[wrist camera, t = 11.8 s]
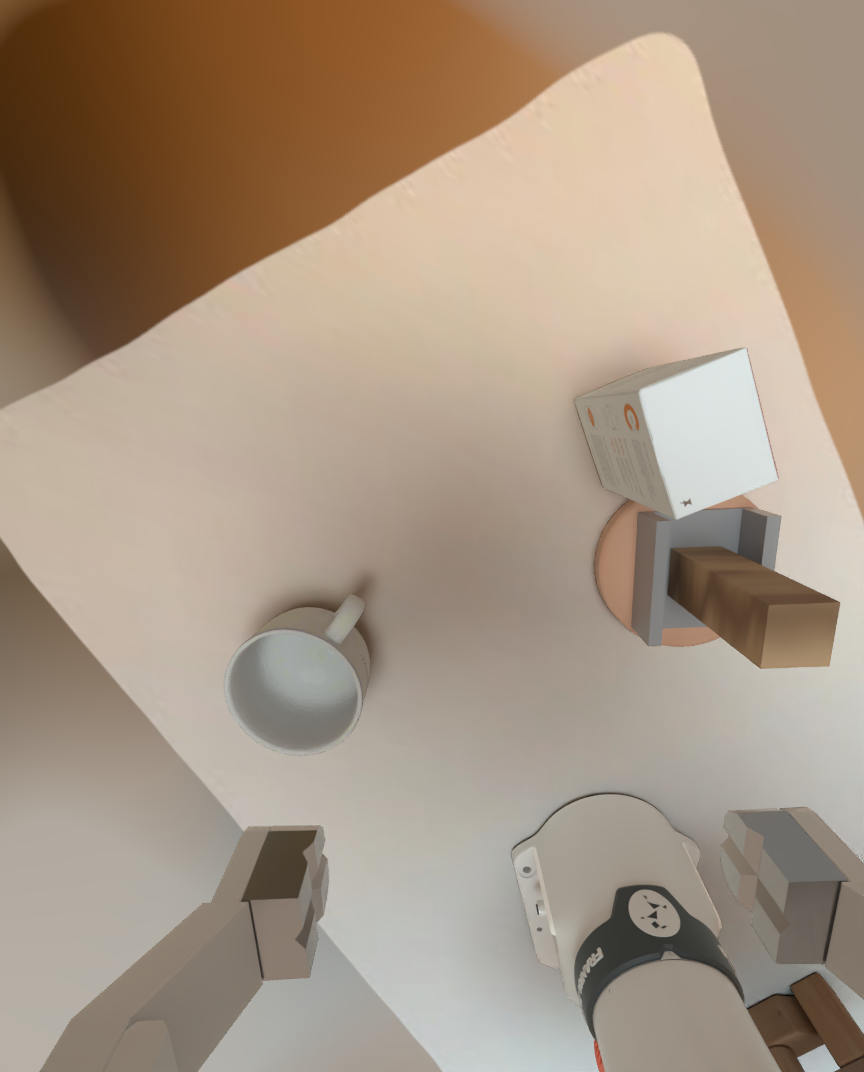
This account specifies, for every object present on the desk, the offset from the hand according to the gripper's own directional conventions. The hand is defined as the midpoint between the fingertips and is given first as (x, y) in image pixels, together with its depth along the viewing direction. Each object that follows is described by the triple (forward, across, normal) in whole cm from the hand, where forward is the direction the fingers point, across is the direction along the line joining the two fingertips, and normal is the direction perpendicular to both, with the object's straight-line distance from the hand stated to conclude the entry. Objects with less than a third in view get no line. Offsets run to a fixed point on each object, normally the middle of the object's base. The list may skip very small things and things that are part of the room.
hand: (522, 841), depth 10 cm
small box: (+33, -14, -6) cm, 37 cm away
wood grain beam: (+30, -19, +5) cm, 36 cm away
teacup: (+33, +12, +11) cm, 37 cm away
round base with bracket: (+33, -19, +5) cm, 39 cm away
